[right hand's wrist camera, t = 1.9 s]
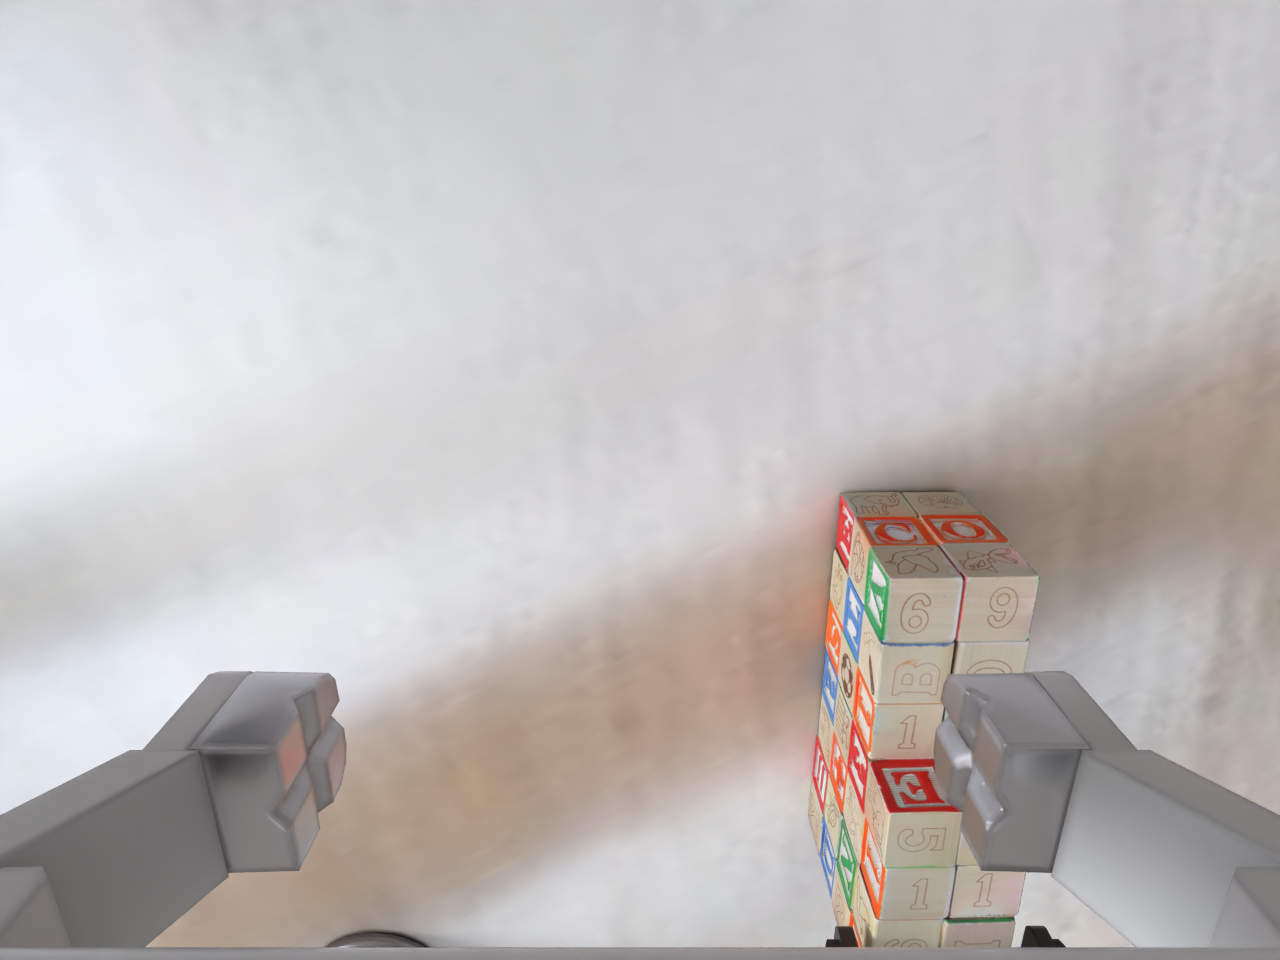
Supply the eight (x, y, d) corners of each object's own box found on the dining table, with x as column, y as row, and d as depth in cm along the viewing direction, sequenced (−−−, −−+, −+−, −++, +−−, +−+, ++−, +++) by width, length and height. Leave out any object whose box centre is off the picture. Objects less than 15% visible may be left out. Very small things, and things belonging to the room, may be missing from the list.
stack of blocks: (835, 489, 40) (914, 615, 29) (959, 488, 40) (1087, 614, 29) (807, 818, 48) (860, 1021, 36) (911, 817, 48) (997, 1020, 36)
